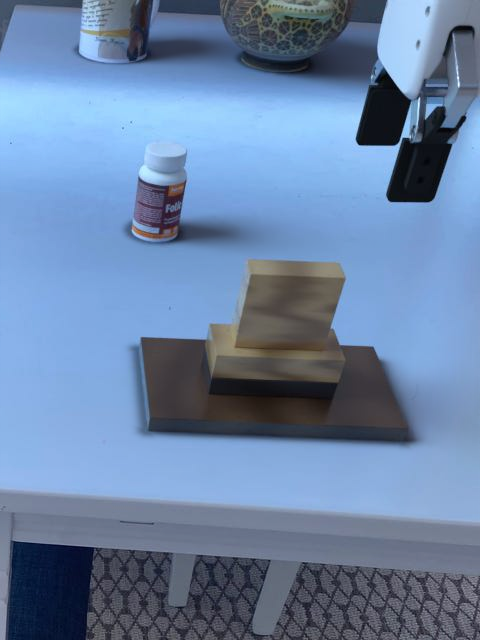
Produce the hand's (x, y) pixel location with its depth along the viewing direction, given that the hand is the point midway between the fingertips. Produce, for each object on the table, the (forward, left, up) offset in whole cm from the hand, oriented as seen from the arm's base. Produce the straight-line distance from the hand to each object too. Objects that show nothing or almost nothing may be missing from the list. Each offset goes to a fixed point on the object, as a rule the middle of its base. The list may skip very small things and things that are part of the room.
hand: (391, 171), depth 68 cm
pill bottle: (+13, -25, -17) cm, 33 cm away
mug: (+14, -83, -17) cm, 86 cm away
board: (+6, +4, -17) cm, 18 cm away
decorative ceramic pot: (-8, -81, -17) cm, 83 cm away
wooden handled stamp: (+6, +4, -15) cm, 17 cm away
